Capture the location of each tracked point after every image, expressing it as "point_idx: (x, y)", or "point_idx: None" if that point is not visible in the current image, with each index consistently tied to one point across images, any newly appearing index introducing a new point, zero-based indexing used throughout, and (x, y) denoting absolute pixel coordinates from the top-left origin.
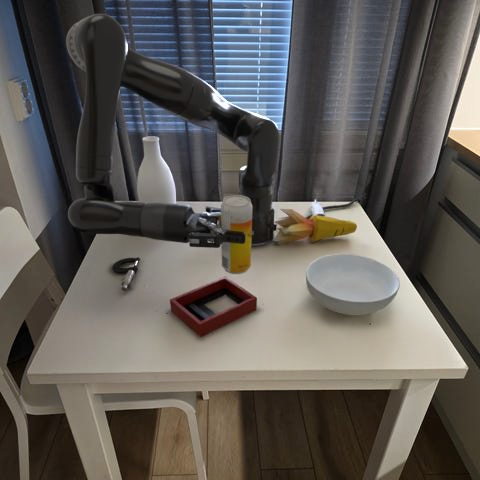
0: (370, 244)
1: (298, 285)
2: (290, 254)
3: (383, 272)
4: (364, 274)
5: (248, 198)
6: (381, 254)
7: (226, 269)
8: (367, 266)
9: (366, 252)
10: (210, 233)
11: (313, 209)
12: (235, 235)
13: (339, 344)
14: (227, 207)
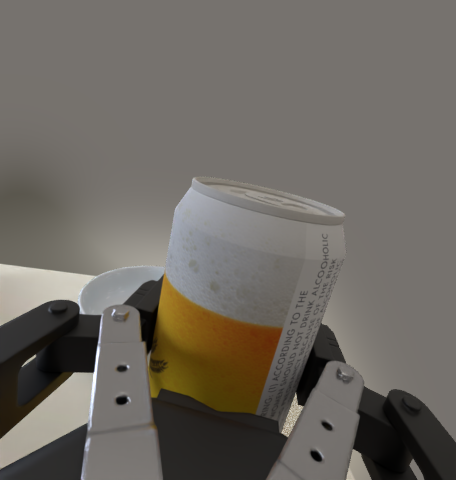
0: (4, 272)
1: (77, 393)
2: None
3: (142, 275)
4: (117, 295)
5: (231, 181)
6: (45, 273)
7: None
8: (116, 282)
9: (25, 282)
10: (421, 445)
11: None
12: (329, 339)
13: None
14: (341, 233)
